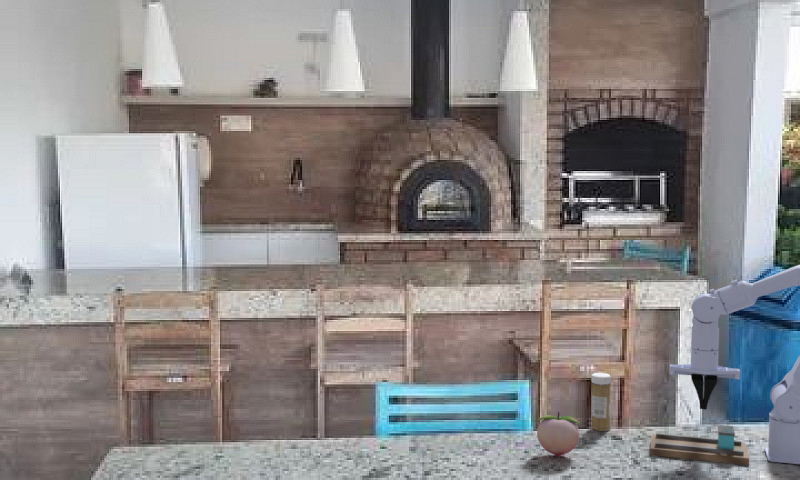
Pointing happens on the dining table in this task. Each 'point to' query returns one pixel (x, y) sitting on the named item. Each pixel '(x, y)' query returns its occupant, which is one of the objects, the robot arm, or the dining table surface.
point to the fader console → (697, 449)
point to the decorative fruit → (558, 434)
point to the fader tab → (726, 437)
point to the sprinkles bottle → (601, 401)
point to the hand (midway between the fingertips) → (703, 408)
